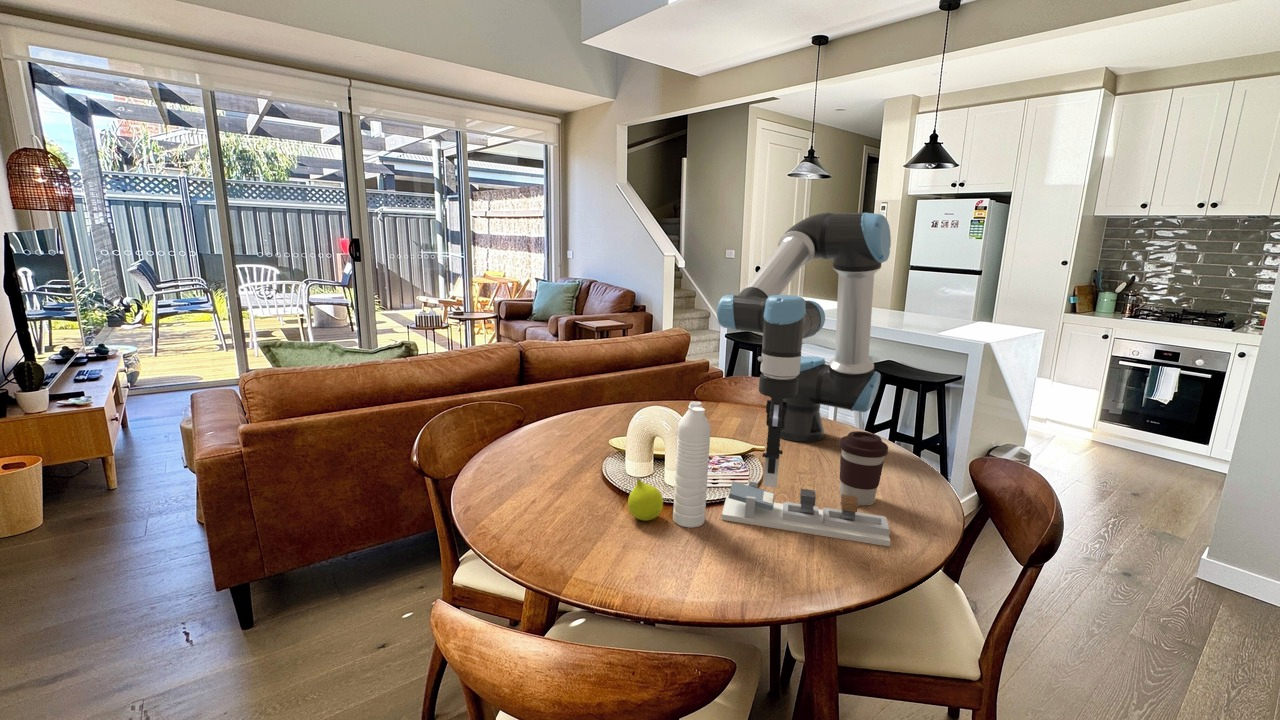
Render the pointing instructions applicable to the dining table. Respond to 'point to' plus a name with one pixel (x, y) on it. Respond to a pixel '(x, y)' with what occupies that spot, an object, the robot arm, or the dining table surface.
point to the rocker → (752, 495)
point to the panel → (809, 520)
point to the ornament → (645, 501)
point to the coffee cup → (861, 465)
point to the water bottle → (691, 467)
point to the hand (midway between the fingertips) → (769, 485)
